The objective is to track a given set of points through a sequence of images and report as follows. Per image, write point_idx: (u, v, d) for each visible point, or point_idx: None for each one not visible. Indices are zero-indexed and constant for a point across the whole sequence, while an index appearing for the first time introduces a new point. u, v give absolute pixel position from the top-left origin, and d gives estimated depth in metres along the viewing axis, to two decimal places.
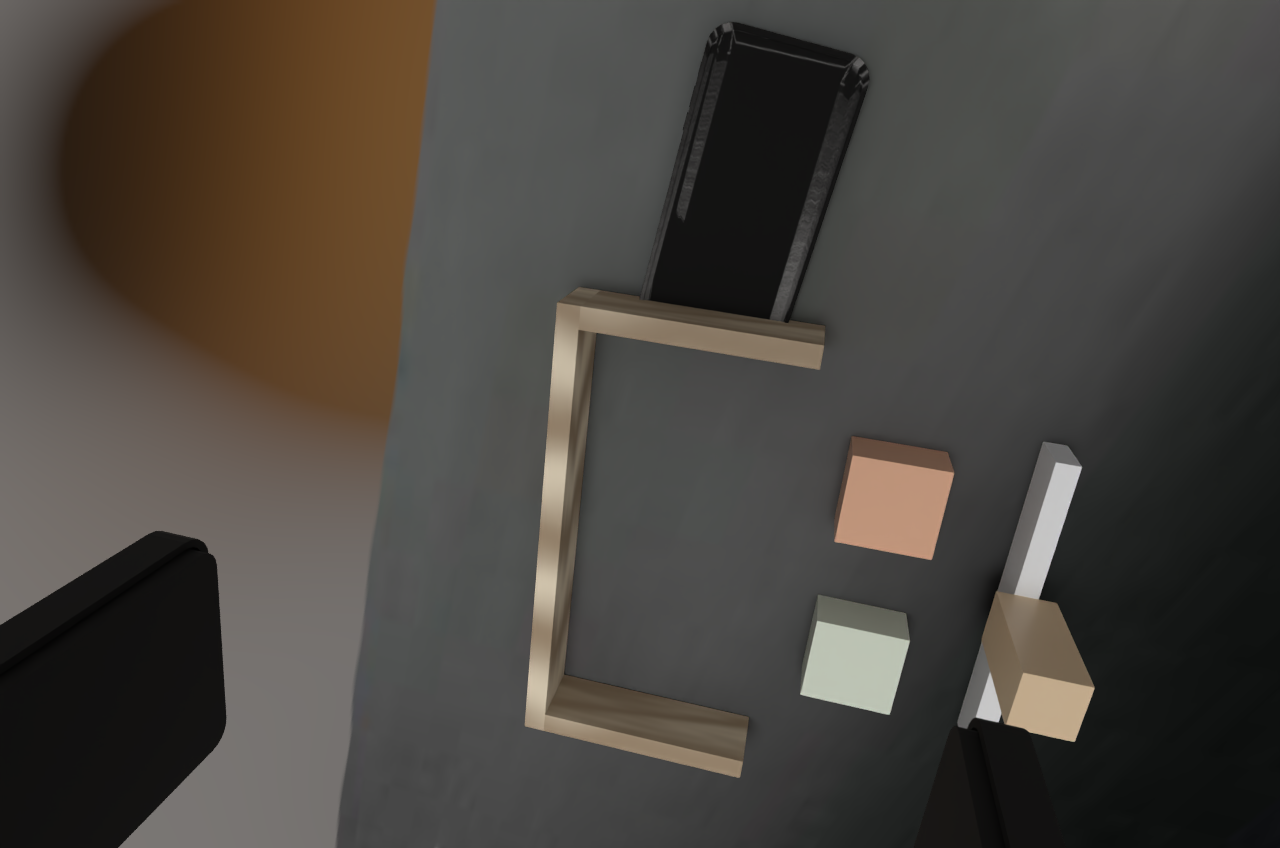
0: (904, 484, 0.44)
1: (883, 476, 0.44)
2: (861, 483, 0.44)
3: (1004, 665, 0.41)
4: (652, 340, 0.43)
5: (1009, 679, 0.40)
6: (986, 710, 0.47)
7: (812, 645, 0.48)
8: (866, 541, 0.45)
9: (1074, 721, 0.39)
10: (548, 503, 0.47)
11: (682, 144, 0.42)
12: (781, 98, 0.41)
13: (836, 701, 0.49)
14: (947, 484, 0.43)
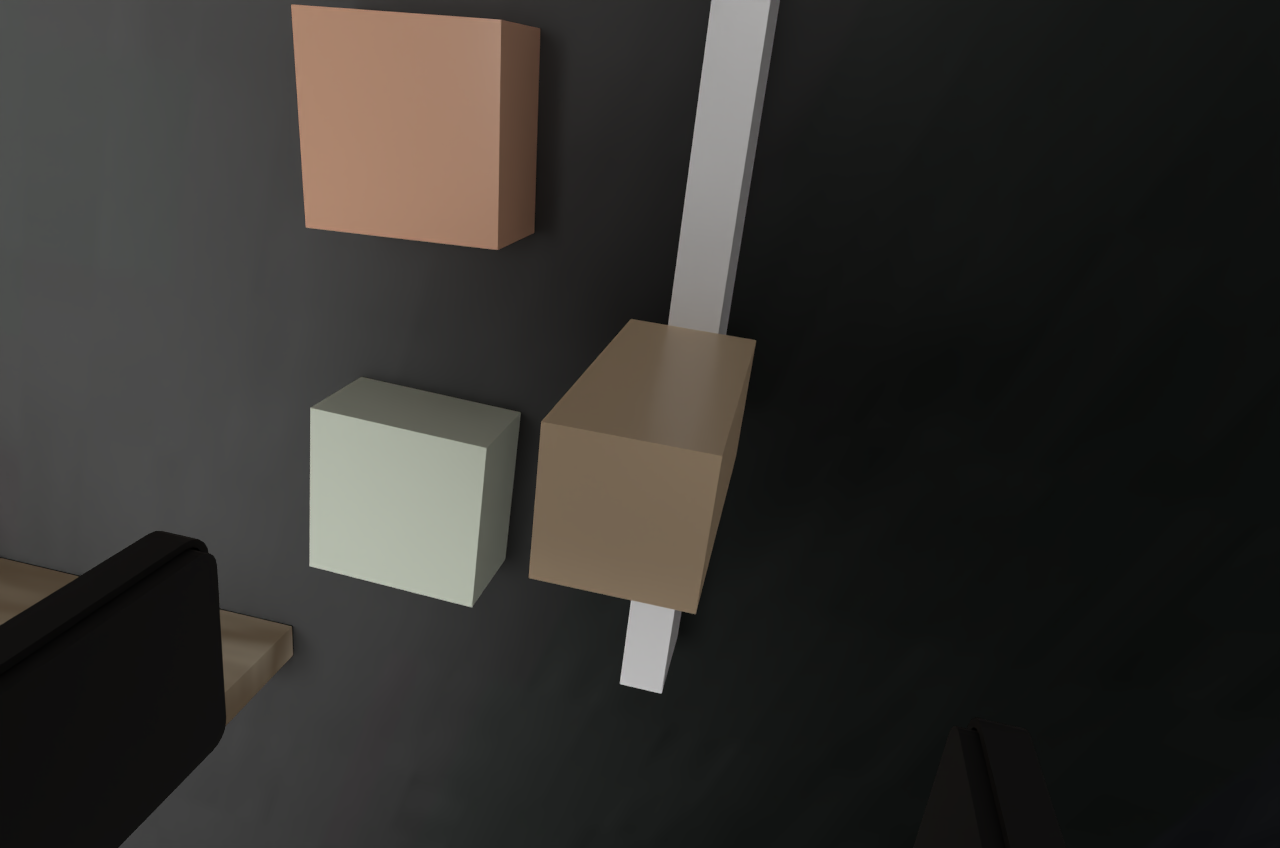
0: (407, 65, 0.20)
1: (362, 49, 0.20)
2: (324, 74, 0.20)
3: None
4: None
5: None
6: None
7: (312, 462, 0.24)
8: (364, 219, 0.21)
9: (686, 556, 0.15)
10: None
11: None
12: None
13: (375, 580, 0.25)
14: (492, 52, 0.19)
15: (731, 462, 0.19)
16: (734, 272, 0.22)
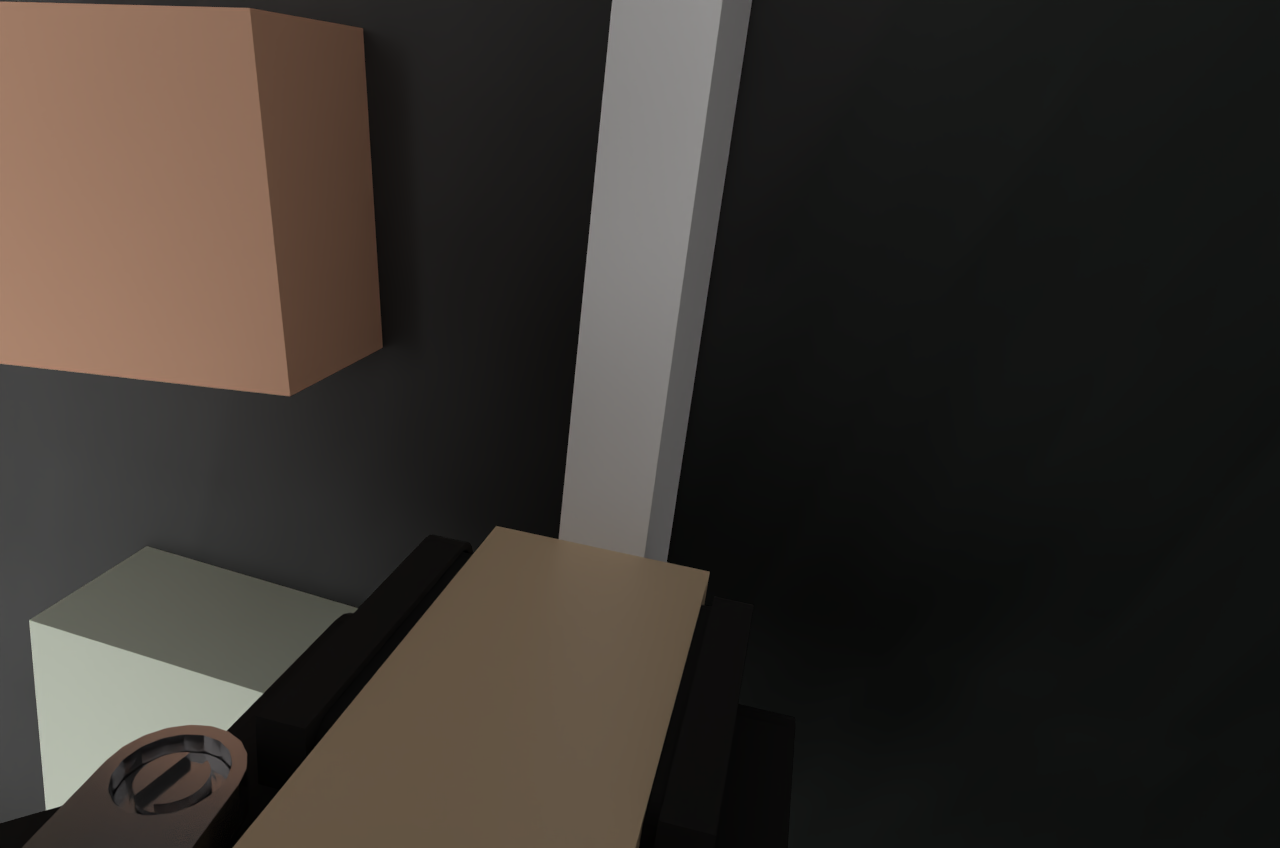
0: (107, 95, 0.11)
1: (33, 71, 0.11)
2: None
3: None
4: None
5: None
6: None
7: (39, 696, 0.15)
8: (78, 349, 0.13)
9: None
10: None
11: None
12: None
13: None
14: (242, 67, 0.11)
15: None
16: (681, 431, 0.13)
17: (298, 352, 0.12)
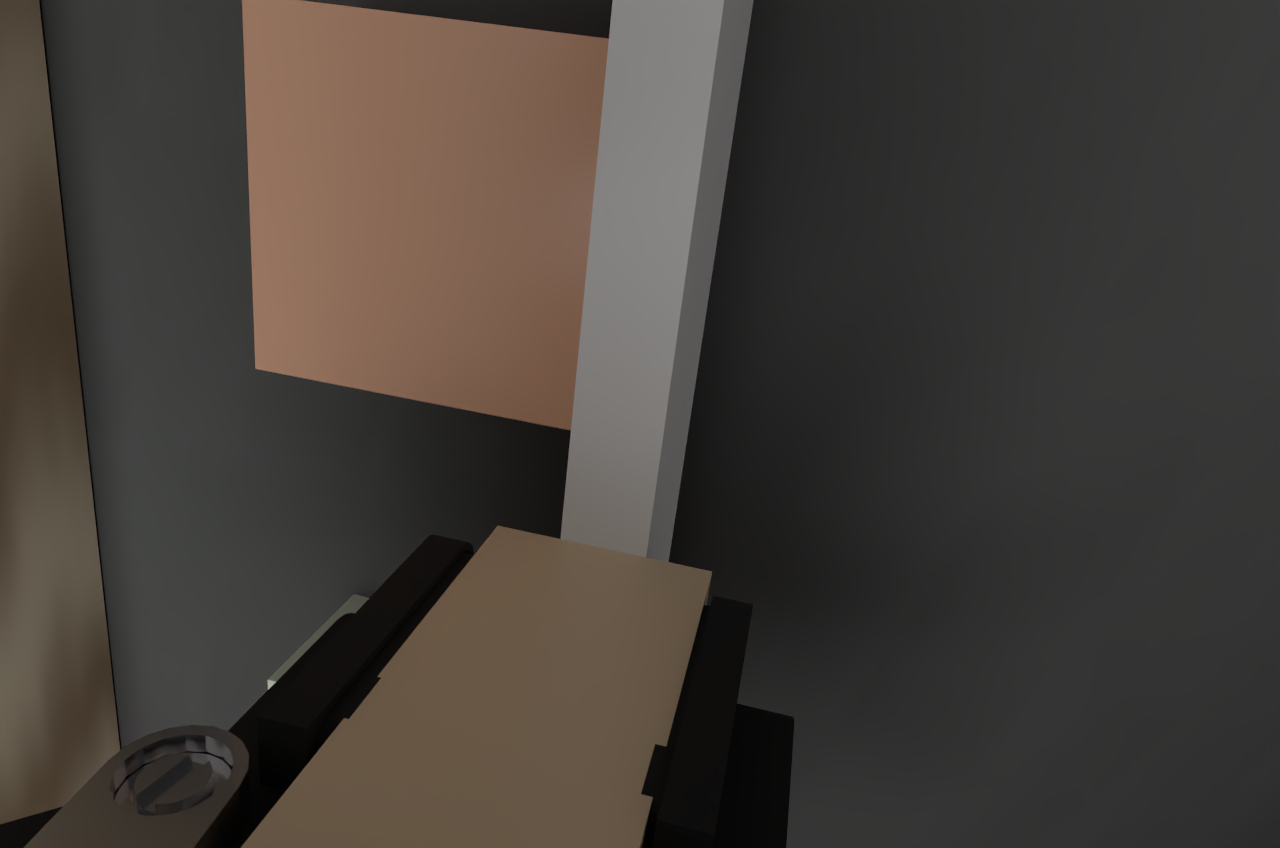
0: (445, 112, 0.11)
1: (366, 80, 0.11)
2: (295, 118, 0.11)
3: None
4: None
5: None
6: None
7: None
8: (355, 364, 0.12)
9: None
10: None
11: None
12: None
13: None
14: None
15: None
16: (683, 430, 0.13)
17: None
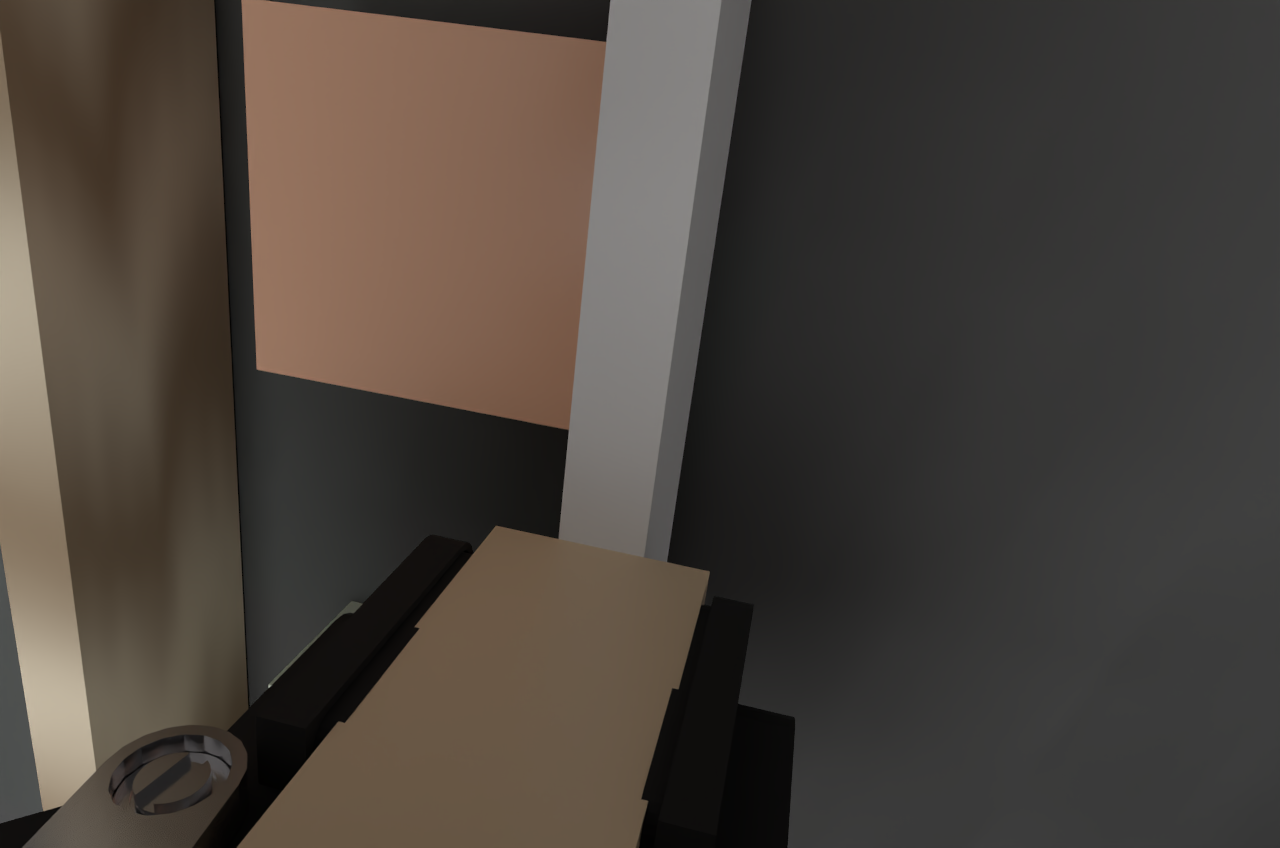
0: (443, 115, 0.11)
1: (364, 83, 0.11)
2: (294, 122, 0.11)
3: None
4: None
5: None
6: None
7: None
8: (356, 365, 0.12)
9: None
10: (0, 407, 0.12)
11: None
12: None
13: None
14: (600, 101, 0.11)
15: None
16: (681, 430, 0.13)
17: None
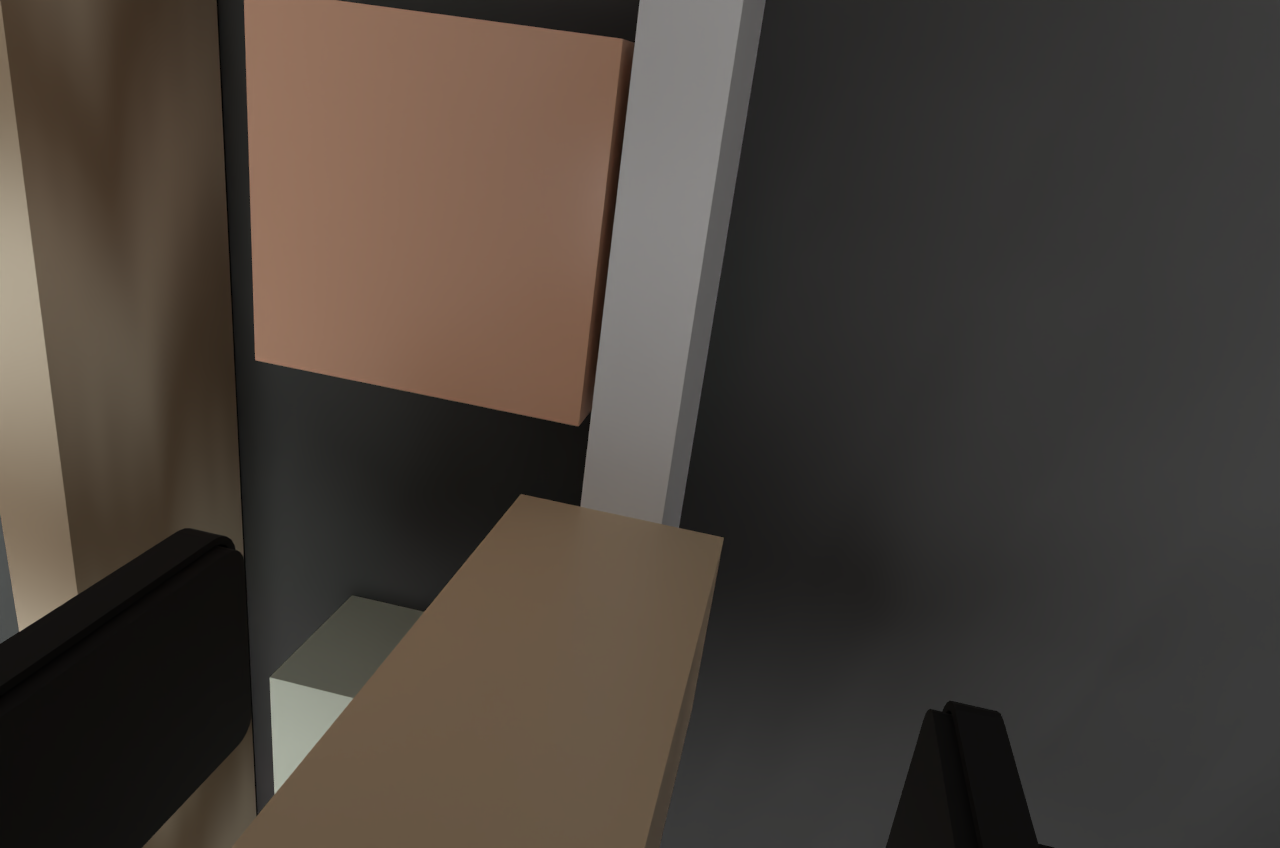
0: (444, 108, 0.11)
1: (366, 76, 0.11)
2: (296, 113, 0.11)
3: None
4: None
5: None
6: None
7: (276, 752, 0.15)
8: (354, 357, 0.12)
9: None
10: (3, 400, 0.12)
11: None
12: None
13: None
14: (601, 96, 0.11)
15: (674, 773, 0.11)
16: (695, 408, 0.14)
17: (587, 382, 0.12)
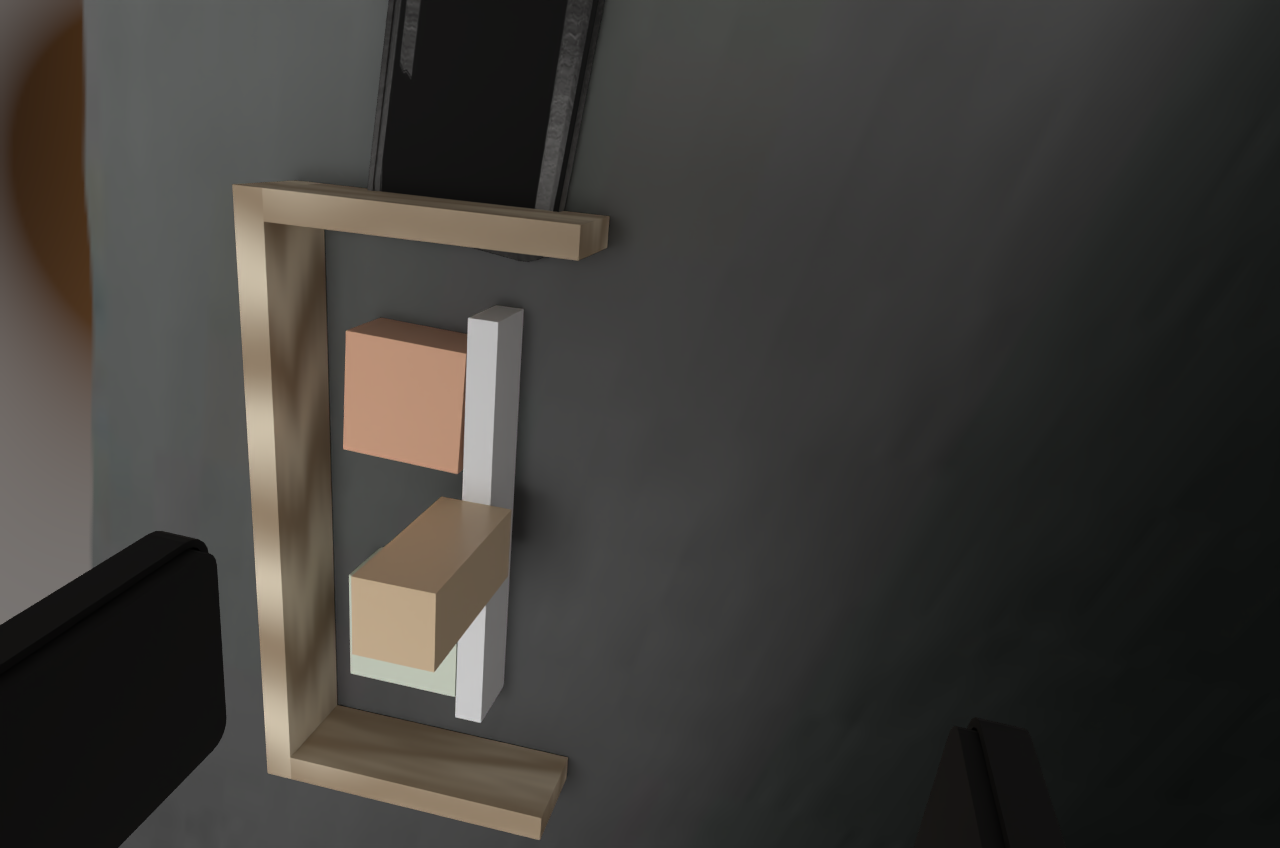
0: (411, 370, 0.34)
1: (385, 358, 0.34)
2: (361, 368, 0.34)
3: None
4: (358, 231, 0.31)
5: None
6: (466, 657, 0.37)
7: (350, 607, 0.38)
8: (379, 448, 0.35)
9: (426, 643, 0.29)
10: (257, 468, 0.35)
11: None
12: None
13: (393, 681, 0.39)
14: (460, 369, 0.33)
15: (487, 584, 0.33)
16: (510, 463, 0.36)
17: (461, 458, 0.35)
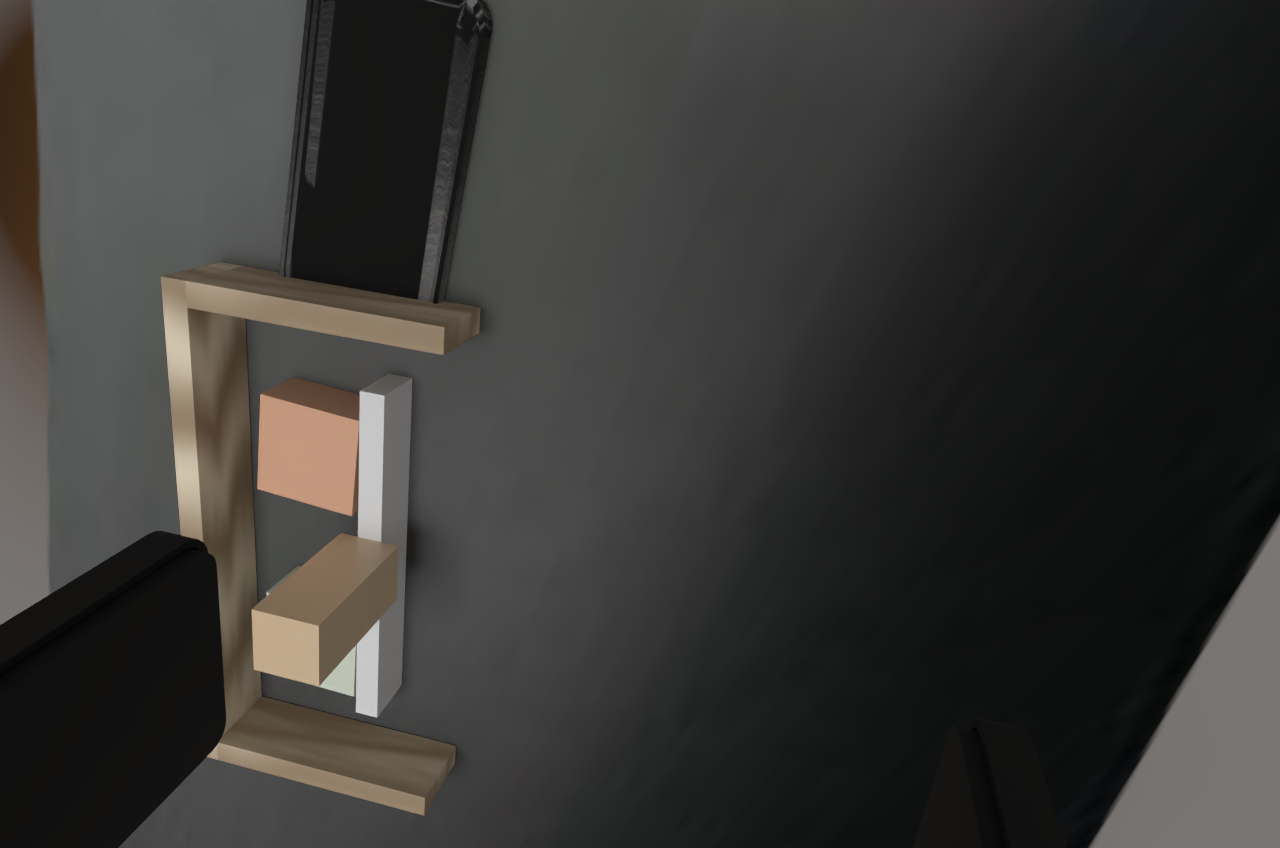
0: (314, 430, 0.40)
1: (293, 419, 0.40)
2: (273, 425, 0.41)
3: None
4: (265, 320, 0.38)
5: None
6: (364, 663, 0.44)
7: None
8: (287, 491, 0.42)
9: (312, 663, 0.36)
10: (185, 505, 0.42)
11: (299, 98, 0.37)
12: (397, 44, 0.36)
13: None
14: (354, 433, 0.40)
15: (373, 609, 0.40)
16: (402, 503, 0.43)
17: (355, 503, 0.42)
